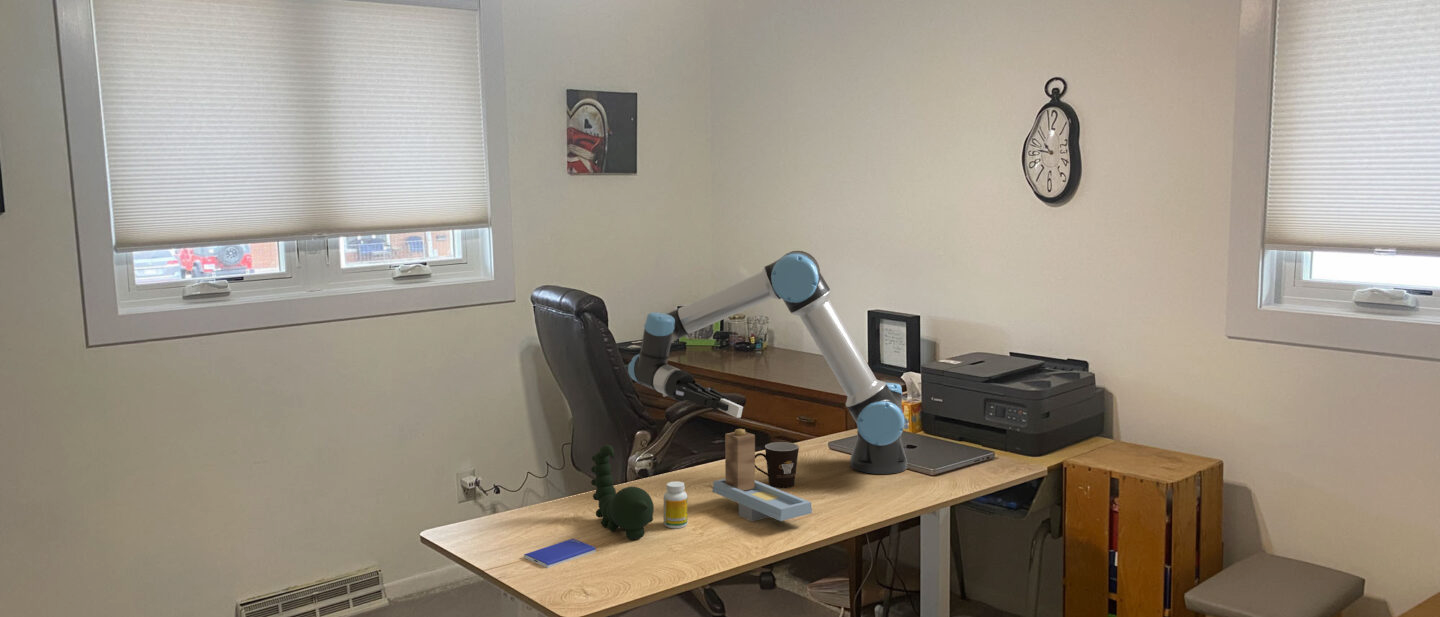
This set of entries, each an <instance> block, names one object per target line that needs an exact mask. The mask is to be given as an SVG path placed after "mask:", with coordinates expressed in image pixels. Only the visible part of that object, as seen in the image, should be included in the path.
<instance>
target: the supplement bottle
mask: <svg viewBox="0 0 1440 617" xmlns="http://www.w3.org/2000/svg"><path fill="white" fill-rule="evenodd" d="M685 489H686V488H685V482H683V481H678V480H677V481H669V482H667V483H666V492H665V493H664V494H663V525H664V526H665V527H667V528H668V529H669V528H670V529H675V530H676V529H681V528H685V527H686V526H687V525H688V494H687V492H686V491H685Z"/></svg>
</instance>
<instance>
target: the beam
mask: <svg viewBox="0 0 1440 617" xmlns="http://www.w3.org/2000/svg"><path fill="white" fill-rule="evenodd" d="M712 493H714V494H717V495H719V496H721V497H724V498H726V499H729V500H731V501H733V502H736V503H737V504H738V516H739V517H740V518H743V519H746V520H748V521H750V522H755V521H759V520H762V519H767V518H773V519H775V520H777V521H779V522H783V521H786V520H791V519H795V518H798V517H803V516H807V515H810V514H811V515H812V514H813V508H812V502H811V501H809V500H807V499H804V498H801V497H799V496H797V495H793V494H792V493H789V492H786V491H783V490H781V489H780V488H774V487H771V486H770V485H769V484H766V483H763V482H761V481H758V480H756V479H755V488H754V489H749V490H745V491H742V490H740V489H737V488H735V487H732V486H730V485H727V484H725V478H723V479H718V480H717V479H716V480H713V481H712Z"/></svg>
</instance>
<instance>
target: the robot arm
mask: <svg viewBox="0 0 1440 617" xmlns="http://www.w3.org/2000/svg"><path fill="white" fill-rule="evenodd" d="M830 295H831V288H830V287H829V285H828V283H827V281H826V280H825V278H824V276H823V275H822V273H821V270H820V266H819V263H818V262H817V260H816V258H815V257H814V256H813V255H812V254H810V253H808V252H807V251H803V250H793V251H789V252H786V253H785V254H784V255H782V256H781V257H780V258H779V259H777V260H775V261H774V262H772V263H769V264H767V265H765V266H763V269H762V271H761V272H758V273H756V274H754V275H752V276H749V277H747V278H744V279H742V280H741V281H738V282H736V283H734V284H732V285H729V286H727V287H724V288H722V289H720V290H718V291H716V292H713V293H711V294H708V295H706V296H703V297H702V298H700V299H697V300H694V301H692V302H691V303H688V304H686V305H683V306H681V307H679V308H677V309H675V310H672V311H669V312H665V313H663V312H657V311H655V312H649V313H648V314H647V316H646V318H645V323H644V326H643V327H644V329H643V330H644V331H643V334H642V335H643V336H642V340H641V347H640V352H639V353H638V354H636V355H634V356H633V357H632V358H631V361H630V362H629V363H628V365H627V367H628V368H627V373H628V375H629V377H630V379H632V380H633V381H634V382H636V383H638V384H639V385H641V386H643V387H646V388H648V389H651V390H653V391H655V392H658V393H660V394H662V397H669V398H670V399H672V400H675V401H676V402H686V401H688V402H691V403H693V404H695V405H696V404H697V405H699V406H702V407H703V408H707V409H710V408H712V412H715V413H716V412H717V411H721V412H723V413H725V414H727V415H730V416H732V417H734V418H735V419H736V418H737V419H740V418H741V417H742V413H743V410H744V406H742V405H740V404H737V403H736V402H733V401H731V400H730V397H728V395H726V394H723V393H722V392H720V391H718V390H717V389H715V387H713V386H709V387H705V386H703V385H702V384H701V383H698V382H696V380H695V378H694V376H693V374H691V373H689V372H687V371H684V370H682V369H680V368H678V367H675V366H672V365H670V364H669V363H668V361H669V360H668V359H669V355H670V350H671V346H672V343H673V342H675V341H676V340H680V339H682V338H683V337H686V336H688V335H690V334H692V333H694V332H697V331H699V330H701V329H704V328H707V327H709V326H711V325H713V324H716V323H718V322H720V321H722V320H725V319H727V318H730V317H732V316H733V315H737V314H739V313H741V312H743V311H744V312H745V310H749V309H751V308H753V307H756V306H757V305H760V304H762V303H765V302H767V301H770V300H771V299H776V300H781V299H782V301H783V303H784V304H785V306H786V308H787V309H788V311H789V313H790V315H794V316H798V317H800V319H801V321H802V323H803V324H804V326H805V328H806V329H807V331H808V333H809V334H810V336H811V337H812V339H813V341H814V343H815V345H816V346H817V348H818V349H819V352H821V354H822V356H823V358H824V359H825V361H826V363H827V365H828V366H829V368H830V369H831V370H832V372H833V374H834V376H835V378H836V379H837V382H838V383H839V385H840V387H841V388H842V389H843V391H844V393H845V394H846V396H847V397H846V402H845V406H846V408H847V410H848V411H849V413H850V415H851V417H852V418H853V420H854V421H855V423H856V428H857V438H856V441H855V444H854V445H853V446H854V447H853V450H852V453H851V456H850V462H849V463H850V465H849V466H850V467H851V468H852V469H854V470H855V471H858V472H862V473H866V474H872V475H873V474H875V475H890V474H892V475H893V474H898V473H902V472H904V471H906V470H907V469H908V458H907V456H906V452H905V449H904V445H903V441H902V433H903V431H904V428H905V427H906V426H905V424H906V418H905V414H904V412H903V411H904V410H903V404H902V403H903V402H902V401H903V399H902V398H903V395H904V394H903V391H902V390H903V389H902V386H901V384H899V383H894V382H886V381H884V380H883V381H882V380H879V379H877V378H876V376H875V374H874V372H873V371H872V369H871V368H870V366H869V364H868V362H867V361H866V360H865V357H864V356H863V354H862V352H861V350H860V349H859V348H858V345H857V343H856V342H855V341H854V339H853V337H852V336H851V334H850V332H849V331H848V329H847V327H846V325H845V324H844V323H843V320H842V319H841V317H840V315H839V313H838V312H837V311H836V308H835V307H834V305H833V304H832V302H831V300H830ZM906 466H907V467H906Z"/></svg>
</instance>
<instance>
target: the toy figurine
mask: <svg viewBox="0 0 1440 617" xmlns="http://www.w3.org/2000/svg"><path fill="white" fill-rule="evenodd" d="M614 458H615V449H614V448H613V446H612V445H609V444H604V445H602V446H601V447H600V449H599V451H598V452H597V453H595V455H592V457H591V461H592V462H594V463H595V464H594V465H593V466H591V468H590V472H592V473H594V474H595V478H594V479H591V481H590V483H591V486H595V487H596V489H595V492H594V493H593V495H592V498H593V500H595V501H598V508H597V510H595V516H596V517H597V518H598V519H599V518H601V521H600V524H601V527H603V528H606V527H607V528H608V531H610V532H616V531H617V530H618V529H619V528H621V529H622V530H625V537H626V538H627V539H628V540H631V541H633V540H634V541H635V540H639V539H641V538H643V537H644V535H645V532H646V530H645V527H646V526H647V525H648V524H649V523H652V522H653V520H654V516H653V515H654V512H655V510H654V509H655V508H654V502H653V499H652V498H651V496H650V494H649V493H648V492H647V491H646V490H644V489H643V488H641V487H638V486H627V487H623V488H622V489H620V490H618V491H616V488H615V487H614V478H613V476H612V474H611V473H612V465H611V464H610V459H614Z"/></svg>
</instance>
